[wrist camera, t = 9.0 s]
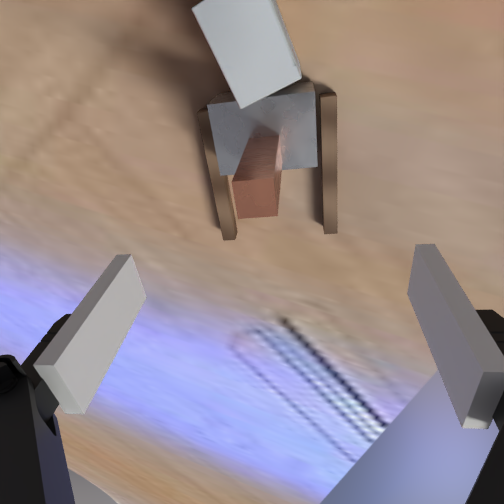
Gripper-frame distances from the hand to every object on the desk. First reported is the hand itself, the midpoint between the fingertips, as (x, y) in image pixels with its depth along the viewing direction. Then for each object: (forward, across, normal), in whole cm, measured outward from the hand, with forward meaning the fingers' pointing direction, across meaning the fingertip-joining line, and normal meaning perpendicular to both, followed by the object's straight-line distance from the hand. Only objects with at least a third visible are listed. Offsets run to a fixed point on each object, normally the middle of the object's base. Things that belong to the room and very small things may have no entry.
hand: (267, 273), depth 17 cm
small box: (+28, -2, +9) cm, 29 cm away
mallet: (+27, -2, +1) cm, 27 cm away
